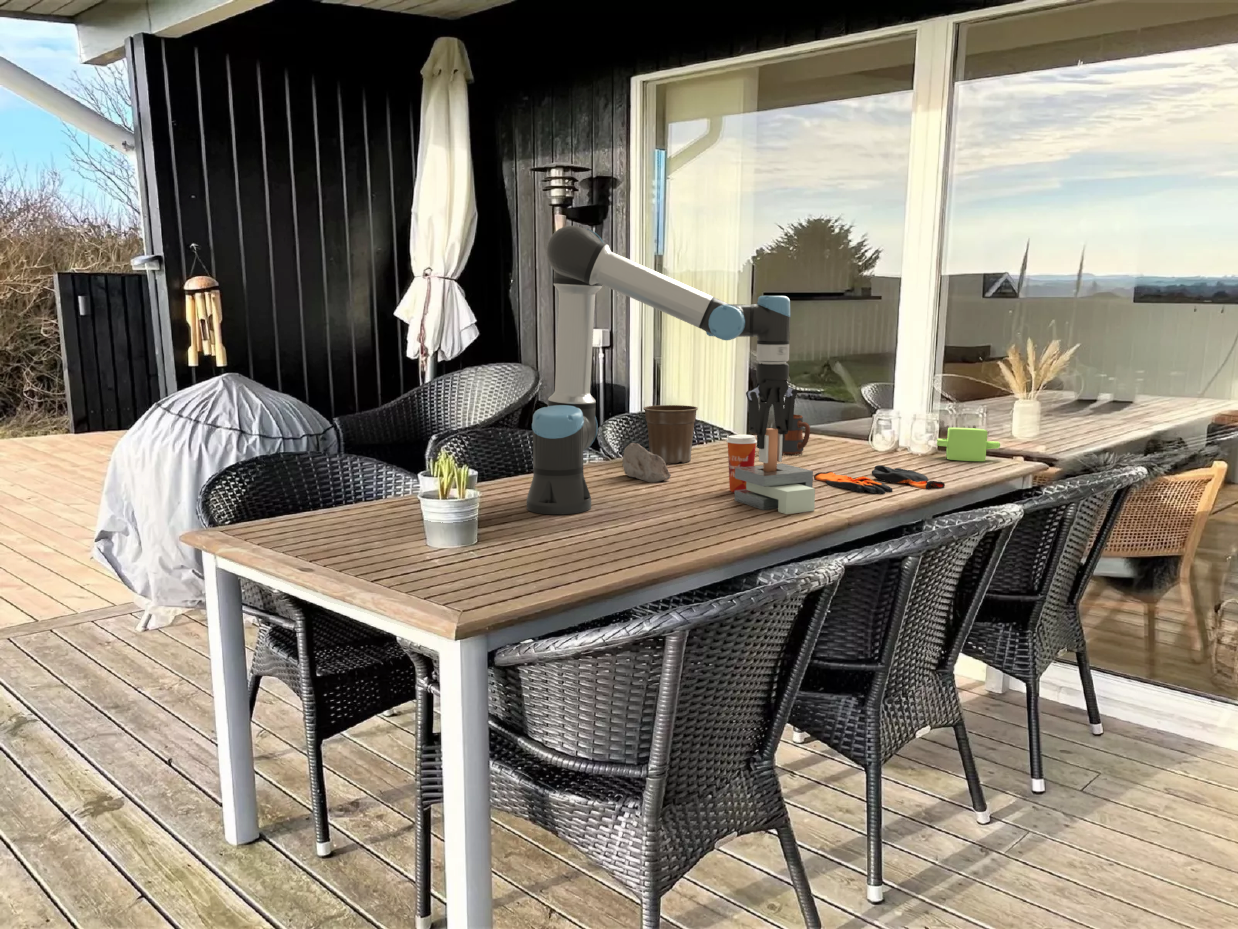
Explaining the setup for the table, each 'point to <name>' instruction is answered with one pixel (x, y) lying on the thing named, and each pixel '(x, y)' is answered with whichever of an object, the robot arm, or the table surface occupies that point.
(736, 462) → the paper cup
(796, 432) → the mug
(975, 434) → the gearbox
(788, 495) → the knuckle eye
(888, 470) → the pair of gloves
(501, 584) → the table surface
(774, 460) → the pin
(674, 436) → the plant pot
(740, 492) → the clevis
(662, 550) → the table surface
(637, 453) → the pumice stone
